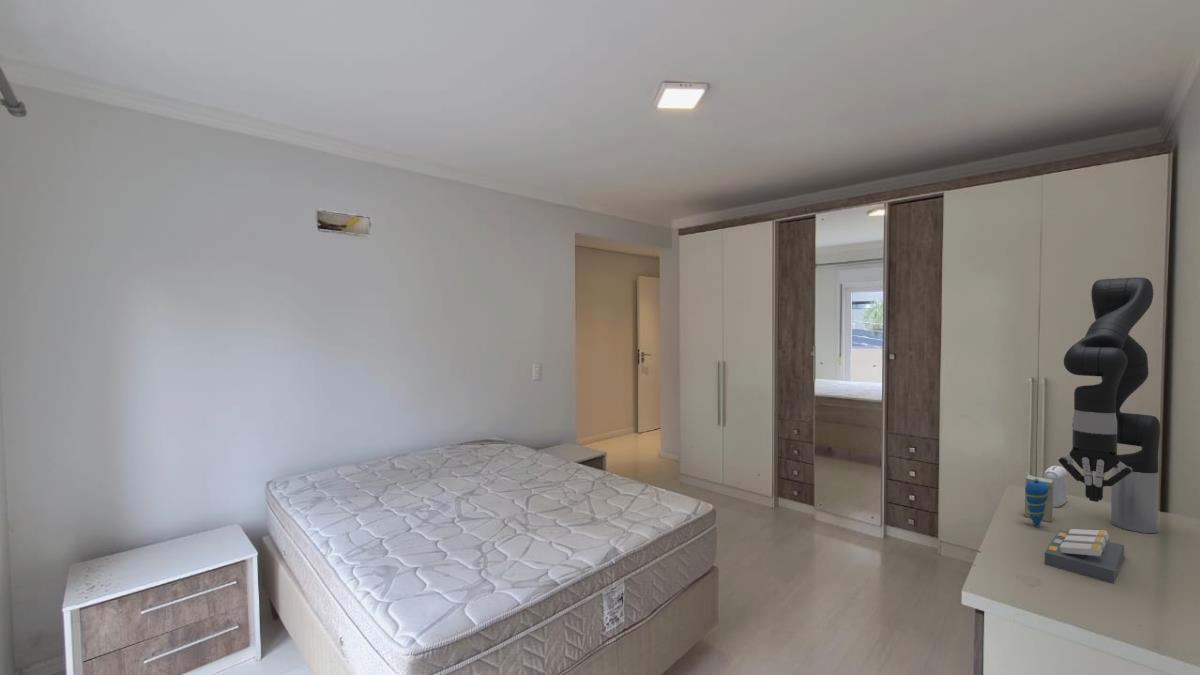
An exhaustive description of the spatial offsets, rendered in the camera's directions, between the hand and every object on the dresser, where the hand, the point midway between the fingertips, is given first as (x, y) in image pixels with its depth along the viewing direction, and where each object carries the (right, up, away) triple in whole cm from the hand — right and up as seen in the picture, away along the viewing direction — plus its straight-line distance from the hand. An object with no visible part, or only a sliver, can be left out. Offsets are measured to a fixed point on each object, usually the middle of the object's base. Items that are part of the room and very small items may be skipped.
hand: (1093, 500), depth 117 cm
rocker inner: (+8, -12, +10) cm, 18 cm away
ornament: (+10, -17, +26) cm, 32 cm away
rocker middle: (+4, -12, +6) cm, 14 cm away
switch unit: (+4, -17, +6) cm, 19 cm away
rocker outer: (-1, -13, +2) cm, 13 cm away
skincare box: (+16, -16, +32) cm, 40 cm away
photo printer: (+32, -16, +43) cm, 56 cm away
